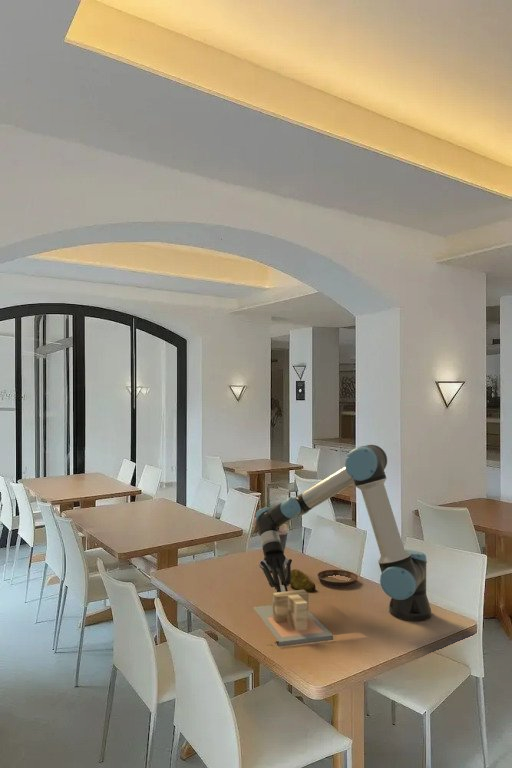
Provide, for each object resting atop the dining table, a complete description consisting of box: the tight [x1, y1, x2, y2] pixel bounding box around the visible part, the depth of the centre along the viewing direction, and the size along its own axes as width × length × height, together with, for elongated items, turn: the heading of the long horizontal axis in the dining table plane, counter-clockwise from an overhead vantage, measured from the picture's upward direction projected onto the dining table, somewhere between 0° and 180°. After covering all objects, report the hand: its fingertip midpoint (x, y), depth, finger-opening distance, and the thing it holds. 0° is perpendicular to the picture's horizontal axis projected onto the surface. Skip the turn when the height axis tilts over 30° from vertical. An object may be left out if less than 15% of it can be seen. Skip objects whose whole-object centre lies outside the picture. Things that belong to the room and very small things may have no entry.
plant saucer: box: [316, 569, 359, 588], centre depth 234 cm, size 18×18×3 cm
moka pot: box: [267, 526, 289, 573], centre depth 249 cm, size 10×15×20 cm, turn 148°
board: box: [252, 604, 334, 647], centre depth 188 cm, size 30×19×2 cm, turn 17°
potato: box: [289, 568, 317, 593], centre depth 222 cm, size 8×13×8 cm, turn 29°
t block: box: [272, 589, 310, 631], centre depth 186 cm, size 12×12×9 cm
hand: (285, 604), depth 192 cm, fingers closed
